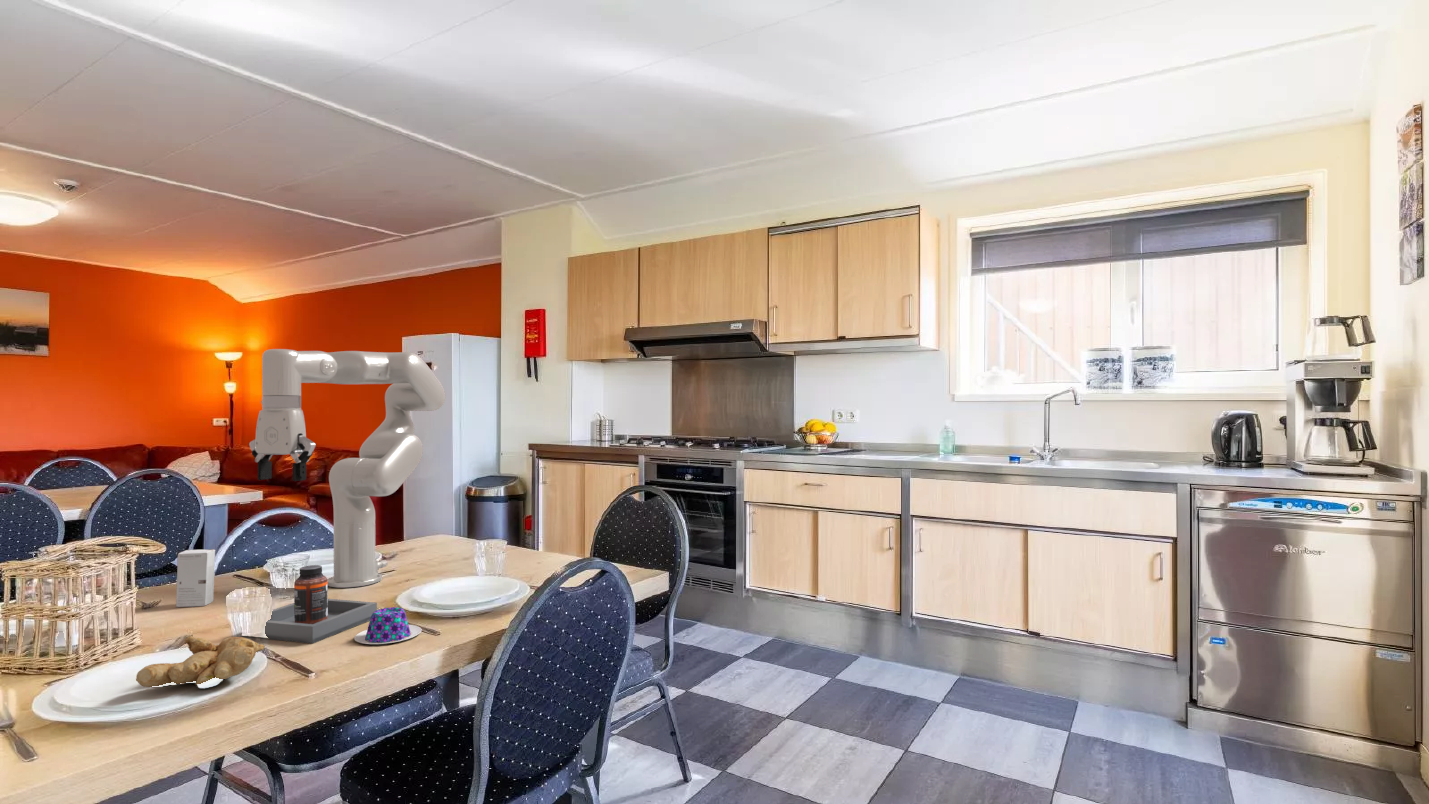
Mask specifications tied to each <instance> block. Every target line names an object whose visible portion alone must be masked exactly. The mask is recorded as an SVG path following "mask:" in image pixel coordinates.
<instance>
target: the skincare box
mask: <svg viewBox="0 0 1429 804" xmlns="http://www.w3.org/2000/svg"><path fill="white" fill-rule="evenodd" d="M215 561H216V550H215V549H186V550H184V551H181V552H179V553H177V568H176V569H177V570H176V571H177V572H176V573H177V574H176V597H175V598H176V601H175V602H176V603H175V607H176V608H185V607H187V608H189V607H204V606H207V605H209V604H212V602H214V593H215V592H214V591H215V588H214V587H215V566H216V564H215Z"/></svg>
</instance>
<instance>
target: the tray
mask: <svg viewBox="0 0 1429 804" xmlns="http://www.w3.org/2000/svg"><path fill="white" fill-rule="evenodd" d="M272 610H273V611H272V615H271V619H270V620H268V621H267V622H266V626H265V634H266V636H267V637H268V638H269V639H268V640H271V641H272V640H274V641H285V642H291V643H292V642H295V643H303V644H315V643H317V642H320V641H323V640H325V639H327V638H328V639H329V638H330V637H332V636H334V635H338V634H340V633H343V632H346V631H347V630H350V629H352V628H353V629H354V627H355V628H356V627H357V626H360V625H363V624H366V623H367V622H368V623H369V622H370V618H371V615H372V614H373V613H374V612H375V611H376V610H378V603H377V602H373V601H361V600H348V599H335V598H328V617H327V619H326V620H323V621H320V622H317V623H315V624H304V623H295V618H294V602H293V603H289V604H287V605H284V606H280V607H277V608H274V609H272Z"/></svg>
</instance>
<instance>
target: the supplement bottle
mask: <svg viewBox="0 0 1429 804" xmlns="http://www.w3.org/2000/svg"><path fill="white" fill-rule="evenodd" d="M327 579H328V577H327V576H325V575H323V566H322V565H320V564H315V565H314V564H313V565H305V566H301V567H300V568H299V576H298V577H297V578H296V579H295V581H294V584H293V585H294V587H293V588H294V589H293V593H294V594H293V595H294V596H293V598H294V599H293V600H294V601H293V603H294V618H295V623H304V624H315V623H317V622H320V621H323V620H326V619H327V617H328V599H329V598H328V594H329V593H328V585H327Z"/></svg>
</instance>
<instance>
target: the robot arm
mask: <svg viewBox="0 0 1429 804" xmlns="http://www.w3.org/2000/svg"><path fill="white" fill-rule="evenodd" d="M261 362H262V364H261V365H262V367H261V369H262V370H261V371H262V380H261V381H262V383H261V384H262V385H261V386H262V387H261V389H262V396H261V401H260V404H261V407H262V409H261V410H259V413H258V416H257V419H256V420H257V421H256V428H255V439H253V440H251V441H250V442H249V444H248V445H249V448H250V450H251V454H252V456H253V457H254V458H255V459H254V462H255V463H257V480H258V481H264V480H265V481H266V480H271V479H272V478H273V475H272V474H273V473H272V472H273V471H272V470H273V467H272V466H273V465H272V463H273V462H272V461H270V460H271V458H272V457H273V456H274V455H276V456H278V455H280V456H281V455H283V456H284V455H290V456H291V458H292V459H293V461H294V463H292V481H294V482H299V481H301V482H302V481H306V480H307V463H308V462H309V461H310V458H311V457H312V456H313V453H314V450H315V448H316V446H317V445H316V443H315V442H314V441H313V440H311V439H309V438H308V437H307V432H306V421H305V415H304V411H303V409H302V384H303V383H304V384H310V383H311V384H315V383H317V384H335V385H386V384H387V385H388V384H389V386H388V388H387V389H386V391H385V393H384V403H385V404H384V405H385V418H384V420H383V421H382V422H381V424H380V425H379V426H378V427H377V428H376V429H375V430H374V431H373V432H372V433H371V434H370V435H369V436H368V437H367V438H366V439H365V440H364V441H363V442H362V444H361V446H360V448H359V452H358V455H359V457H347V458H343V459H341V460H338V461H336V462H335V463H334V464H333V465H332V467H331V468H330V471H329V473H328V482H329V488H330V492H331V493H330V494H331V497H332V505H333V506H332V507H333V575H332V576H330V577H329V578H327V587H330V588H337V589H338V588H341V589H342V588H345V589H346V588H355V587H363V586H368V585H373V584H376V583H378V582H379V583H380V581H382V578H383V575H382V573H380V572H378V571H379V570H380V569H382V568H385V567H387V566H388V561H387V560H386V559H381V560H376V509H375V506H374V503H373V500H372V499H371V497H387V496H390V495H392V494H394V493H396V491H397V490H399V488H401V486H402V485H403V483H405V482H406V480H408V478H409V477H410V476H411V474H412V473H413V472H414V471H415V469H416V468H417V467H418V465H419V464H420V462H421V461H422V457H423V453H424V452H423V451H424V448H423V447H424V446H423V442H422V441H421V439H420V437H418V436H417V435H415V425H414V422H413V421H412V416H411V412H434V411H437V410H439V409H440V408H442V407H443V406H444V404H445V401H446V393H445V389H444V387H443V384H442V383H441V381H440V380H439V379H438V378H437V376H436V375H435V373H434V372H433V371H432V369H431V368H430V366H428V364H427V363H426V361H424V360H423V359H422V357H421V356H419V355H418V354H416V353H414V352H411V351H405V352H402V351H401V352H385V351H384V352H383V351H381V352H380V351H378V352H377V351H363V350H362V351H360V350H344V351H341V350H340V351H334V352H333V351H331V352H326V351H322V350H298V351H297V350H295V349H288V348H272V349H271V348H270V349H267V350H265V351H264V352H263V353H262V361H261ZM390 384H391V385H390Z"/></svg>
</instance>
